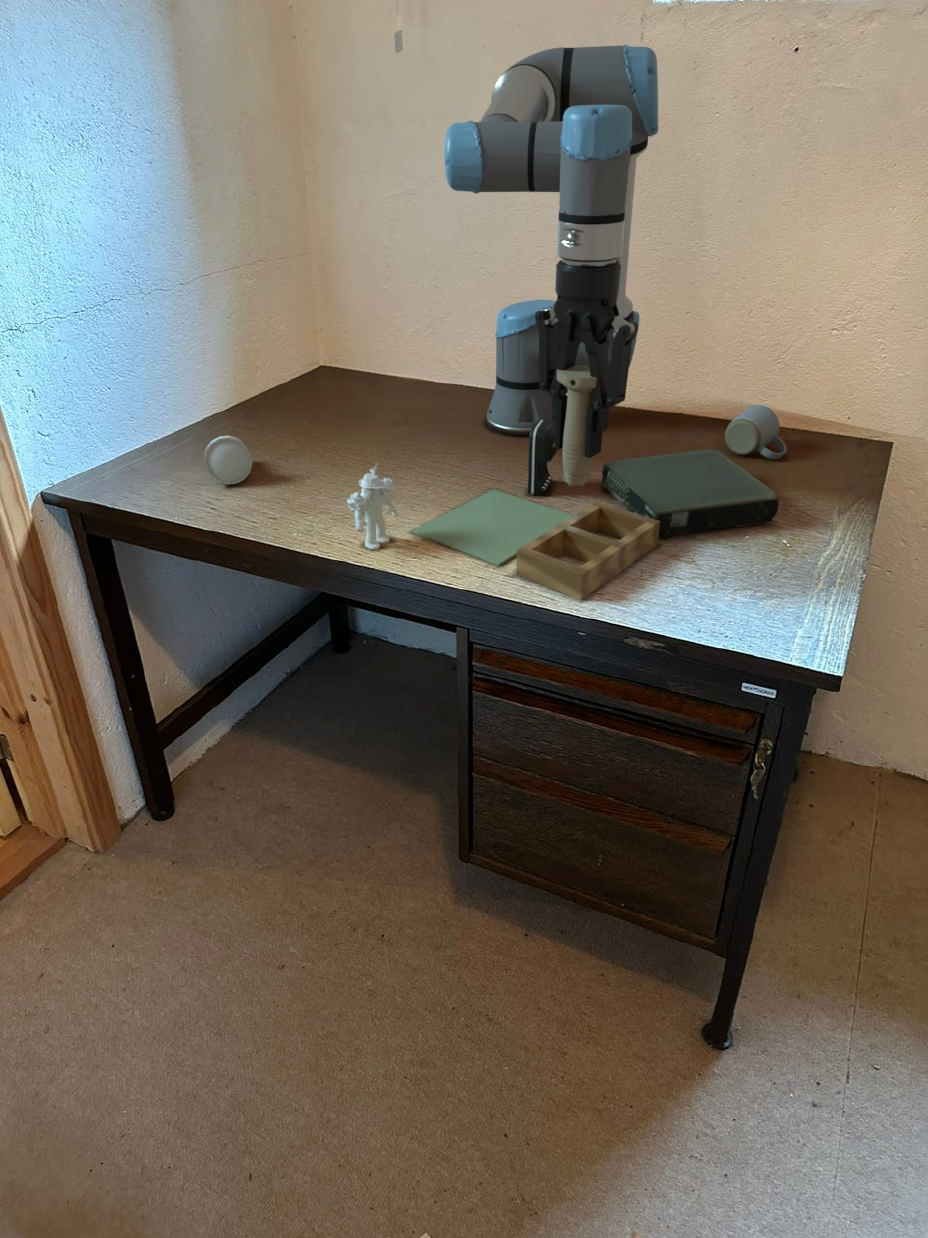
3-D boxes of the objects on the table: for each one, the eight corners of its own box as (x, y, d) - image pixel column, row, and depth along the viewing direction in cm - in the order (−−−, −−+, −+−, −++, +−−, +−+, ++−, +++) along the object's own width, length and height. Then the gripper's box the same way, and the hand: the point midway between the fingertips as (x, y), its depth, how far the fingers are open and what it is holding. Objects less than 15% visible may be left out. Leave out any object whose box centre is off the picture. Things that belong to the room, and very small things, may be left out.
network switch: (586, 490, 145) (588, 462, 143) (702, 468, 152) (706, 441, 150) (662, 549, 127) (666, 518, 124) (790, 521, 134) (797, 492, 131)
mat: (493, 491, 146) (493, 488, 145) (576, 518, 136) (576, 516, 136) (413, 532, 133) (413, 530, 133) (498, 566, 123) (498, 563, 123)
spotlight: (203, 483, 147) (204, 436, 144) (203, 471, 157) (204, 427, 154) (251, 486, 149) (253, 439, 146) (249, 474, 159) (250, 431, 157)
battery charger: (549, 498, 143) (551, 432, 137) (526, 495, 144) (528, 430, 138) (558, 482, 148) (561, 418, 142) (537, 479, 149) (539, 416, 143)
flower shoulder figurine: (386, 528, 134) (381, 456, 128) (405, 535, 132) (401, 462, 126) (346, 551, 128) (339, 476, 122) (366, 558, 126) (359, 482, 120)
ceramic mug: (719, 452, 158) (725, 412, 154) (737, 439, 164) (744, 400, 160) (774, 466, 153) (783, 425, 149) (791, 452, 158) (800, 412, 154)
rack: (595, 524, 134) (597, 501, 132) (657, 545, 128) (660, 520, 126) (516, 574, 121) (516, 549, 119) (580, 600, 115) (582, 574, 113)
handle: (588, 494, 111) (596, 380, 103) (545, 483, 114) (550, 371, 106) (605, 481, 115) (614, 370, 106) (563, 471, 118) (568, 362, 110)
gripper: (510, 256, 102) (508, 443, 114) (636, 273, 92) (618, 475, 105) (547, 247, 106) (541, 427, 119) (670, 262, 97) (649, 456, 110)
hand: (577, 449), depth 112 cm, fingers closed on handle, 4 cm apart
